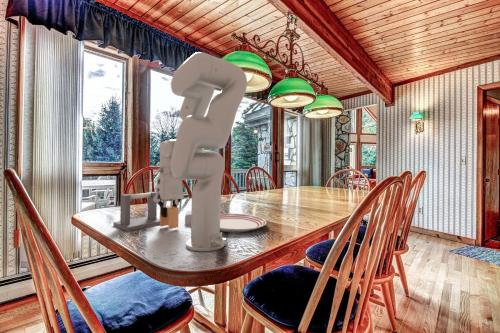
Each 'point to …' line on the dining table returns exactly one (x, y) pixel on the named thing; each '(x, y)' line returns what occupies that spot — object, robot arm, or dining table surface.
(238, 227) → the dinner plate
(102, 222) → the dining table surface
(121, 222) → the stand
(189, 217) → the charger
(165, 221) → the orange rectangular block
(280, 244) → the dining table surface
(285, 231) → the dining table surface
